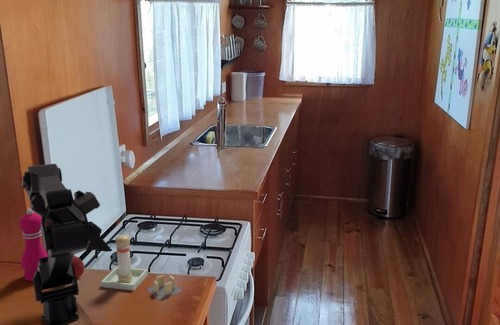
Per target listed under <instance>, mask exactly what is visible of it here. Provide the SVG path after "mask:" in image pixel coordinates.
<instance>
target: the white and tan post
mask: <svg viewBox="0 0 500 325" xmlns="http://www.w3.org/2000/svg"><path fill="white" fill-rule="evenodd" d="M130 238H131V237H130V235H129V234H128V235H127V234H119V235H117V236H115V246H116V254H117V257H116V258H117V267H118V282H120V283H130V282H131V281H132V273H131V268H132V267H131V253H130V252H131V251H130V250H131V247H130V245H131V241H130Z"/></svg>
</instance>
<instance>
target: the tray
mask: <svg viewBox="0 0 500 325" xmlns="http://www.w3.org/2000/svg"><path fill="white" fill-rule="evenodd" d="M130 268H131V273H132V281H131V282H130V283H120V282H118V266H116V267H114V269H113V270H112V271H111V272H109V273H108V274H107V275H106V276H105V277H104V278H103V279H102V280H101V281H100V287H101V288H106V289H107V288H108V289H115V290H116V289H117V290H124V291H125V290H126V291H133V292H134V291H135V290H136V289H137V288H138V287H139V286H140V285H141V283H142V282H143V281H144V280H145V279H146V278H147V277H148V276H149V270H148V269H145V268H143V269H142V268H133V267H130Z"/></svg>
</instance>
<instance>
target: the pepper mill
mask: <svg viewBox="0 0 500 325" xmlns="http://www.w3.org/2000/svg"><path fill="white" fill-rule="evenodd" d="M41 220H42V217H41V216H40V215H38V214H37V213H35V212H34V211H32V210H31V208H27V209H26V214H24V215H22V216H21V217H20V219H19V222H18V227H19V229H20V230H21V231H22V239H24V243H25V244H24V246H25V248H24V250H23V253H22V256H21V260H20V266H21V268H22V269H23V270H24V271H23V278H24V280H25V281H29V282H33V278H34V275H35V271H37V268H38V266H39V265H38V263H39V259H40V258H44V257H49V254H48V251H45V248H44V245H43V243H42V240H41V238H42V234H41V229H40V228H41Z"/></svg>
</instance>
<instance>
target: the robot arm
mask: <svg viewBox="0 0 500 325" xmlns="http://www.w3.org/2000/svg"><path fill="white" fill-rule="evenodd" d="M21 187H22V189H23V190H25V193H26V196H27V198H28V200H29V204H30V205H29V207H30V209H31V210H32V211H34V212H33V213H35V214H38V215H40V216H41V217H42V220H41V228H40V229H41V234H42V235H41V238H42V245H43V248H44V249H45V251H46V252H47V255H48V257H44V258H40V259H39V263H38V265H39V266H38V268H37V271H35V275H34V278H33V281H32V283H33V288H34V294H35V301H36V302H40V304H42V307H43V316H41V320H42V321H43V322H44V323H46V325H66V324H69V323H71V322H74V321H75V320H78V319H80V315H79V314H78V304H77V297H76V296H79V292H80V290H79V284H78V280H77V279H76V275H75V271H74V267H73V264H71V262H72V260H73V257H74V256H75V255H76V254H79V253H81V252H85V251H88V250H89V251H99V252H109V251H110V250H111V247H110V246H109V245H108V243H107V242H106V241H105V240H104V239H103V237H101V234H102V228H101V227H100V226H98V225H97V224H96V223H94V221H92V220H91V221H89V220H88V216H87V215H88V214H89V213H91V212H92V211H94V210H95V209H98V208H100V207H101V203H100V201H98V199H97V197H96V195H95V194H94V193H93V192H92V191H85V192H83V191H81V190H76V191H75V192H74V193H72V190H71V188H70V189H68V188H67V187H65V185H64V183H63V174H62V170H61V167H58V165H57V164H56V163H48V164H47V163H46V164H39V165H30V166H27V171H24V173H23V176H22V180H21ZM46 222H49V223H50V224H51V225H46Z"/></svg>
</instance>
